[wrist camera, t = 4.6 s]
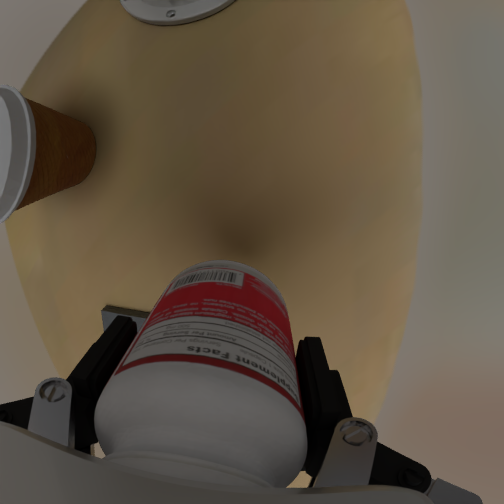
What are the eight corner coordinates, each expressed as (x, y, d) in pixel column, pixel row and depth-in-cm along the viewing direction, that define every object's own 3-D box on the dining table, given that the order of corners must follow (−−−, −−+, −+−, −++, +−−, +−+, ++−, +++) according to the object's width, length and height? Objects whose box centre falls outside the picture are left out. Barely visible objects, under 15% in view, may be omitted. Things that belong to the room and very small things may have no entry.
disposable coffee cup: (103, 211, 25) (11, 245, 13) (30, 196, 24) (-58, 218, 13) (121, 105, 22) (33, 75, 11) (44, 103, 22) (-44, 89, 10)
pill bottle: (228, 381, 16) (203, 570, 5) (140, 312, 15) (30, 494, 4) (314, 314, 14) (372, 537, 4) (220, 227, 13) (113, 450, 3)
